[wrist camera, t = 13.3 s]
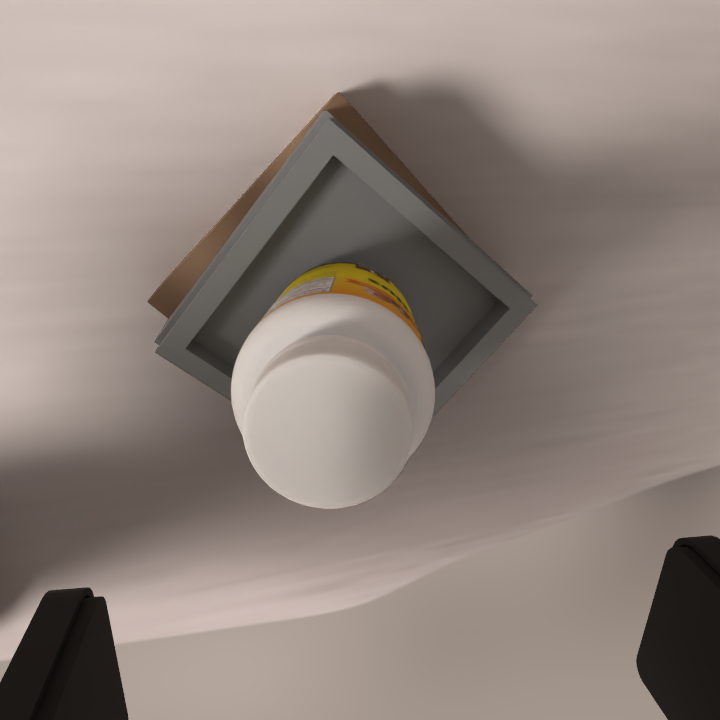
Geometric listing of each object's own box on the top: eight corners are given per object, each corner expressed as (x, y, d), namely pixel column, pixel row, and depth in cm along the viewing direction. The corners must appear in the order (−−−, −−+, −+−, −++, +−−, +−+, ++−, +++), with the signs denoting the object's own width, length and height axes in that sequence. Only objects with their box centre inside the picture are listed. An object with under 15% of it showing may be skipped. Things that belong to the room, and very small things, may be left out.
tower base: (335, 426, 32) (339, 455, 29) (161, 283, 27) (147, 301, 25) (496, 277, 29) (517, 293, 27) (333, 95, 25) (339, 92, 22)
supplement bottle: (433, 362, 23) (484, 494, 13) (310, 411, 24) (271, 572, 14) (380, 234, 21) (394, 276, 12) (250, 291, 22) (160, 376, 12)
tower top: (357, 442, 29) (367, 491, 25) (169, 317, 25) (147, 353, 21) (506, 277, 26) (544, 304, 22) (321, 111, 22) (328, 110, 19)
